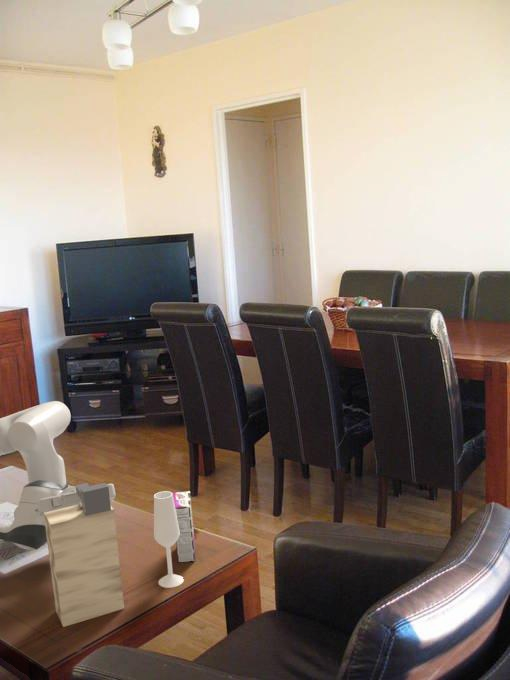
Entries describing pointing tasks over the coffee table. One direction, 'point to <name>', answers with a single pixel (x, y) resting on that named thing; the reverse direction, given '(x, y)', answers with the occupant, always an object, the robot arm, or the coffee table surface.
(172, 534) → the champagne flute
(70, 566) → the pedestal
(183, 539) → the candy bar box
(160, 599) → the coffee table surface
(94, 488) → the t handle
